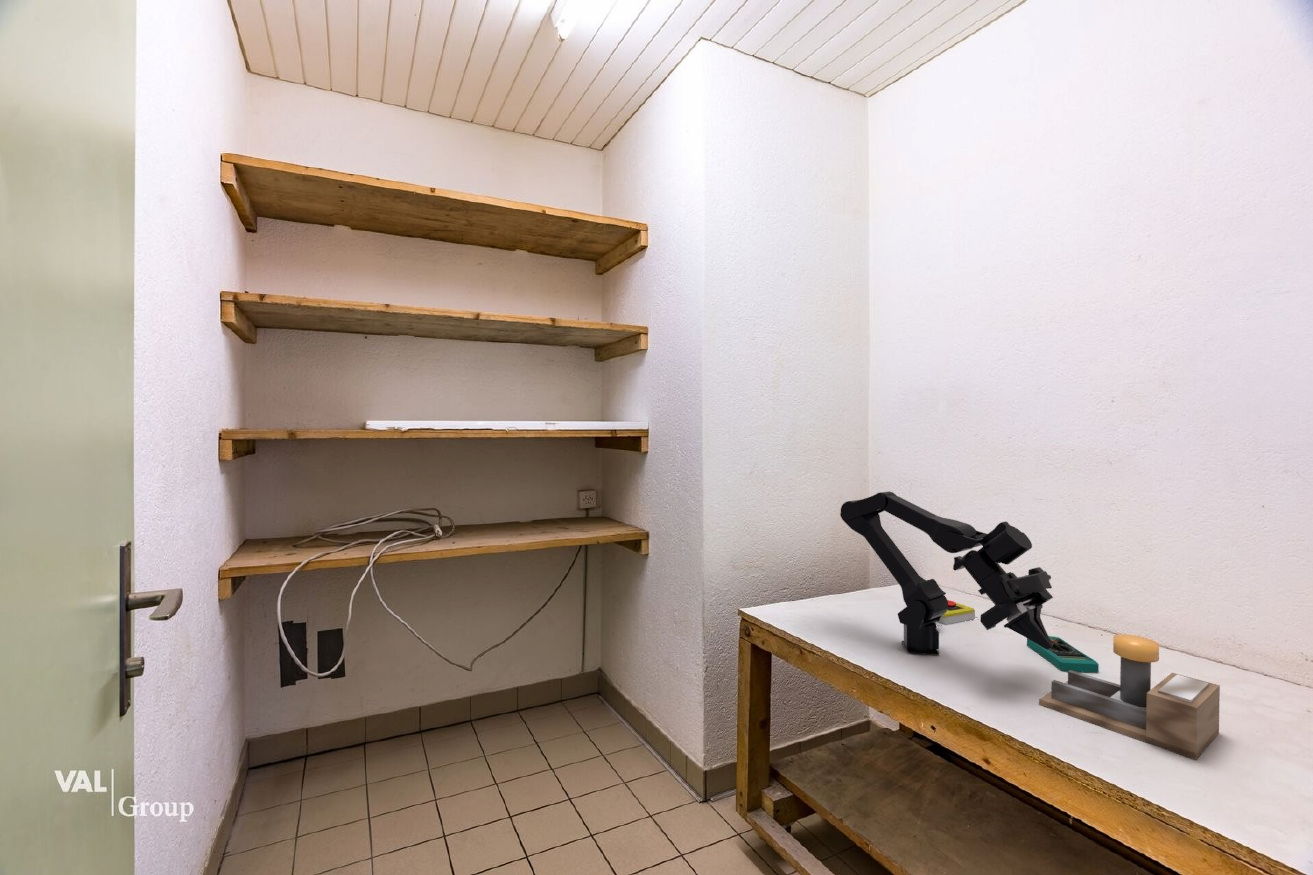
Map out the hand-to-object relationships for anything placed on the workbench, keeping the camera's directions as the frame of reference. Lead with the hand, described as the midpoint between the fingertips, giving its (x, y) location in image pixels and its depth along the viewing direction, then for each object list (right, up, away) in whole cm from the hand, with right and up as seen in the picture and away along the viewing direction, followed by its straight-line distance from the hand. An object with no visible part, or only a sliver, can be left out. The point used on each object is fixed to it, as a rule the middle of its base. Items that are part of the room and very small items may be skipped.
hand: (1050, 648), depth 109 cm
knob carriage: (+7, -8, -10) cm, 15 cm away
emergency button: (+2, -8, +43) cm, 44 cm away
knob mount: (+7, -9, -9) cm, 14 cm away
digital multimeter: (+13, -9, +16) cm, 23 cm away
